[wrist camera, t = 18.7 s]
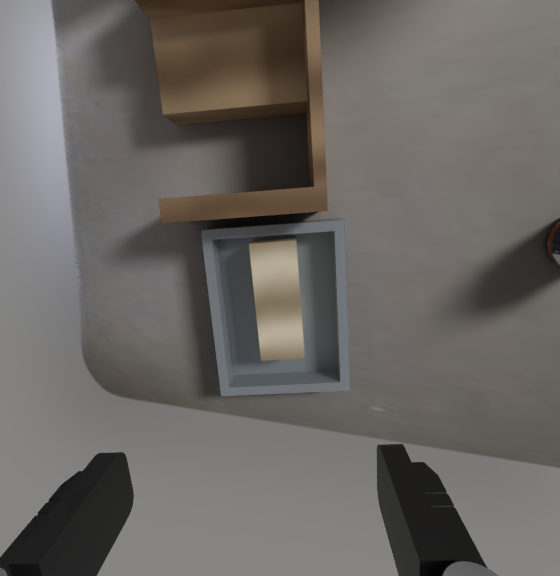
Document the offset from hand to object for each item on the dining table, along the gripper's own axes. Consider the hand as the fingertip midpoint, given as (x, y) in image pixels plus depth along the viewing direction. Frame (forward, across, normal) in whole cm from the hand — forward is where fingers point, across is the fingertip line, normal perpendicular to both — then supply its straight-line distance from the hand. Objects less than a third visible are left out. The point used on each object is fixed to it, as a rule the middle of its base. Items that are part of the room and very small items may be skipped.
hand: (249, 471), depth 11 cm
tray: (+28, 0, +3) cm, 28 cm away
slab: (+28, 0, +1) cm, 28 cm away
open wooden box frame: (+28, +2, -18) cm, 33 cm away
